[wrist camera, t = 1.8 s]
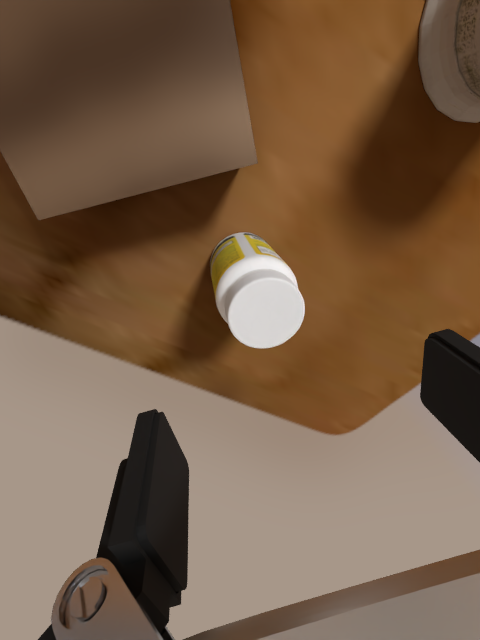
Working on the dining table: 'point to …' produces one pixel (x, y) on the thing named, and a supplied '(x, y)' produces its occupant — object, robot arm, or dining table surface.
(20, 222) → the dining table surface
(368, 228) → the dining table surface
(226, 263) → the supplement bottle
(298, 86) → the dining table surface
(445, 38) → the mug
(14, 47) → the walnut block
